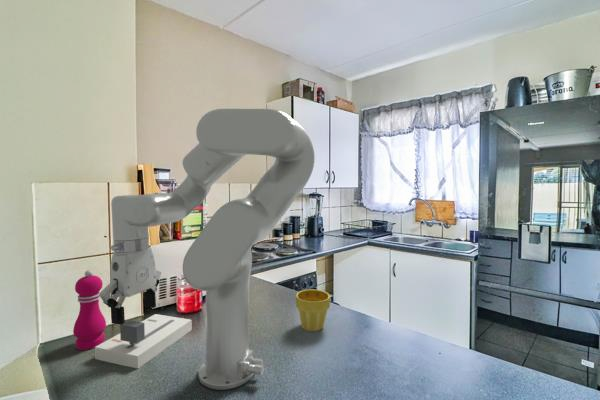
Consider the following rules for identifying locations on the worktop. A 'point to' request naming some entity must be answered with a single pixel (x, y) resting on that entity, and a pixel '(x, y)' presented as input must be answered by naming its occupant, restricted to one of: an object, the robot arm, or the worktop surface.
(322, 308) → the plant pot
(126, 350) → the slotted white slab
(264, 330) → the worktop surface
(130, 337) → the fader cap
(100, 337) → the pepper mill
